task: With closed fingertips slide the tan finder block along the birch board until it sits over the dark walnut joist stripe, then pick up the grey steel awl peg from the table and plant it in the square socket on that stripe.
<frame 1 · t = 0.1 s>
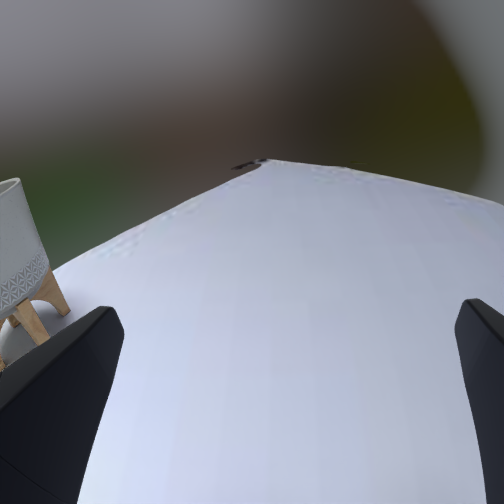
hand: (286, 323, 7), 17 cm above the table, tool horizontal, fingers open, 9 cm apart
planter: (33, 340, 31), on the table
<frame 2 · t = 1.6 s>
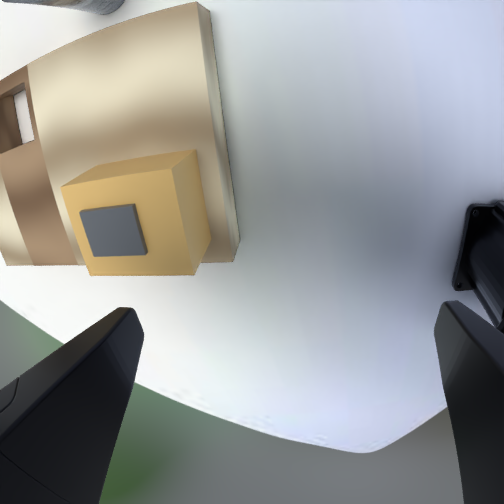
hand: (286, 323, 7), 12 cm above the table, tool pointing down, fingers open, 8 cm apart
finder block: (151, 200, 17), point 2 cm above the table, touching subfloor board
subfloor board: (79, 154, 19), on the table
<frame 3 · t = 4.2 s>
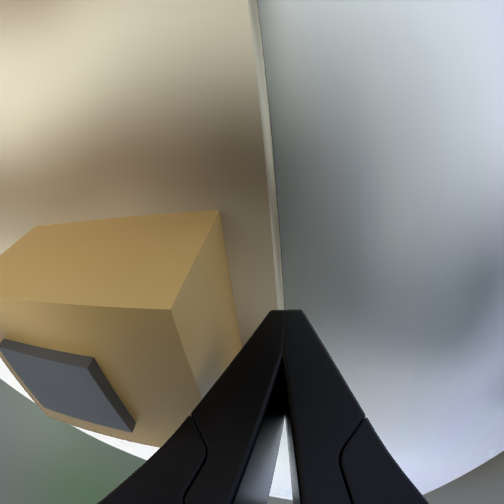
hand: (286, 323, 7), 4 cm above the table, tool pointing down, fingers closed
finder block: (134, 295, 9), point 2 cm above the table, touching gripper, subfloor board
subfloor board: (24, 193, 11), on the table
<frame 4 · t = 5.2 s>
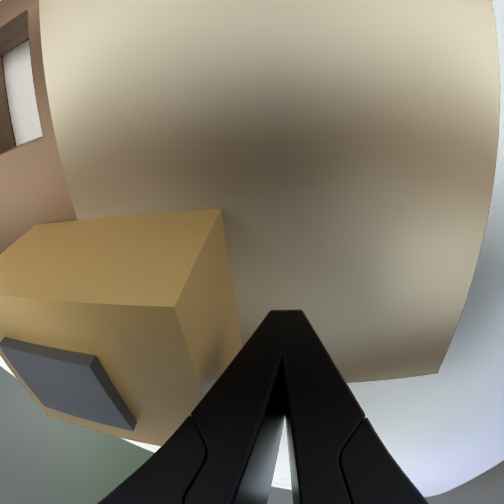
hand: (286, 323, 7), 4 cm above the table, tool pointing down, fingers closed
finder block: (135, 294, 9), point 3 cm above the table, touching gripper
subfloor board: (139, 171, 10), on the table
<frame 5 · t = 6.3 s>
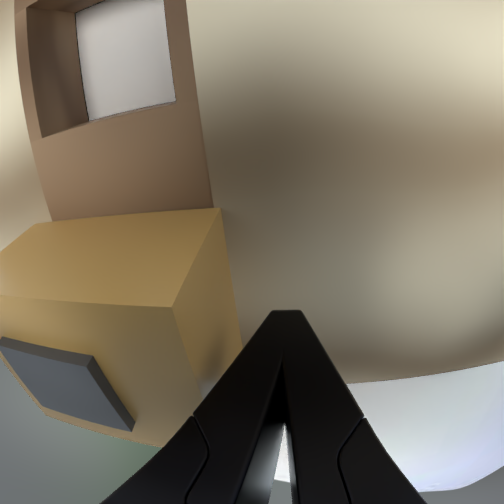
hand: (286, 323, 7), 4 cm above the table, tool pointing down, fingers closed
finder block: (134, 293, 9), point 2 cm above the table, touching gripper, subfloor board
subfloor board: (263, 158, 9), on the table
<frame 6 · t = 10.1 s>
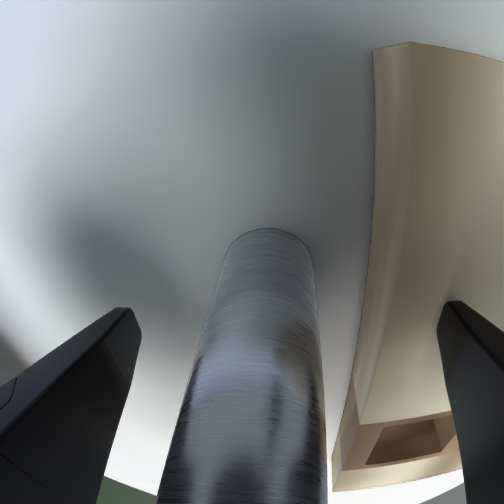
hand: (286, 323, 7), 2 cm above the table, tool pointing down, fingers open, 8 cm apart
awl peg: (268, 268, 10), on the table
subfloor board: (503, 335, 10), on the table
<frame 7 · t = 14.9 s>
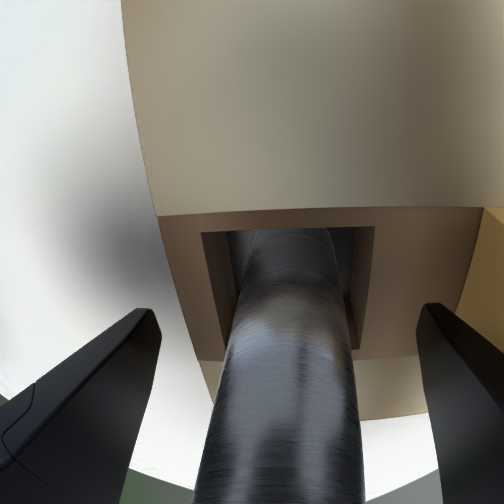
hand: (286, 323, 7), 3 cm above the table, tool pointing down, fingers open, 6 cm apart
awl peg: (292, 249, 10), resting in subfloor board
subfloor board: (421, 141, 8), on the table
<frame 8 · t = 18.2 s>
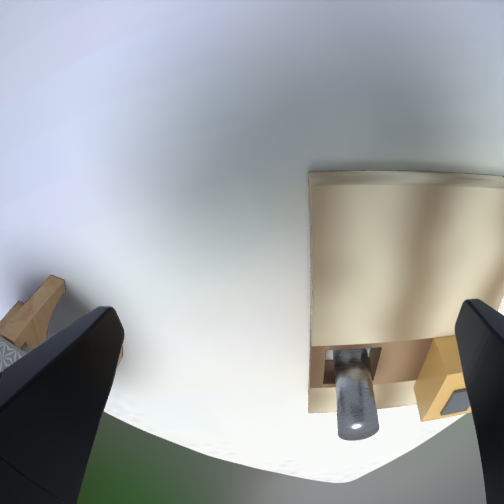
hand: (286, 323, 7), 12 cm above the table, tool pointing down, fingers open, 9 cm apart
awl peg: (348, 342, 24), resting in subfloor board
finder block: (450, 361, 21), point 2 cm above the table, touching subfloor board
subfloor board: (404, 306, 22), on the table
planter: (66, 326, 28), on the table
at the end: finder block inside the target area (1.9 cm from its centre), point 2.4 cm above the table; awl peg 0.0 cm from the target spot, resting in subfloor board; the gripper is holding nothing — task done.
